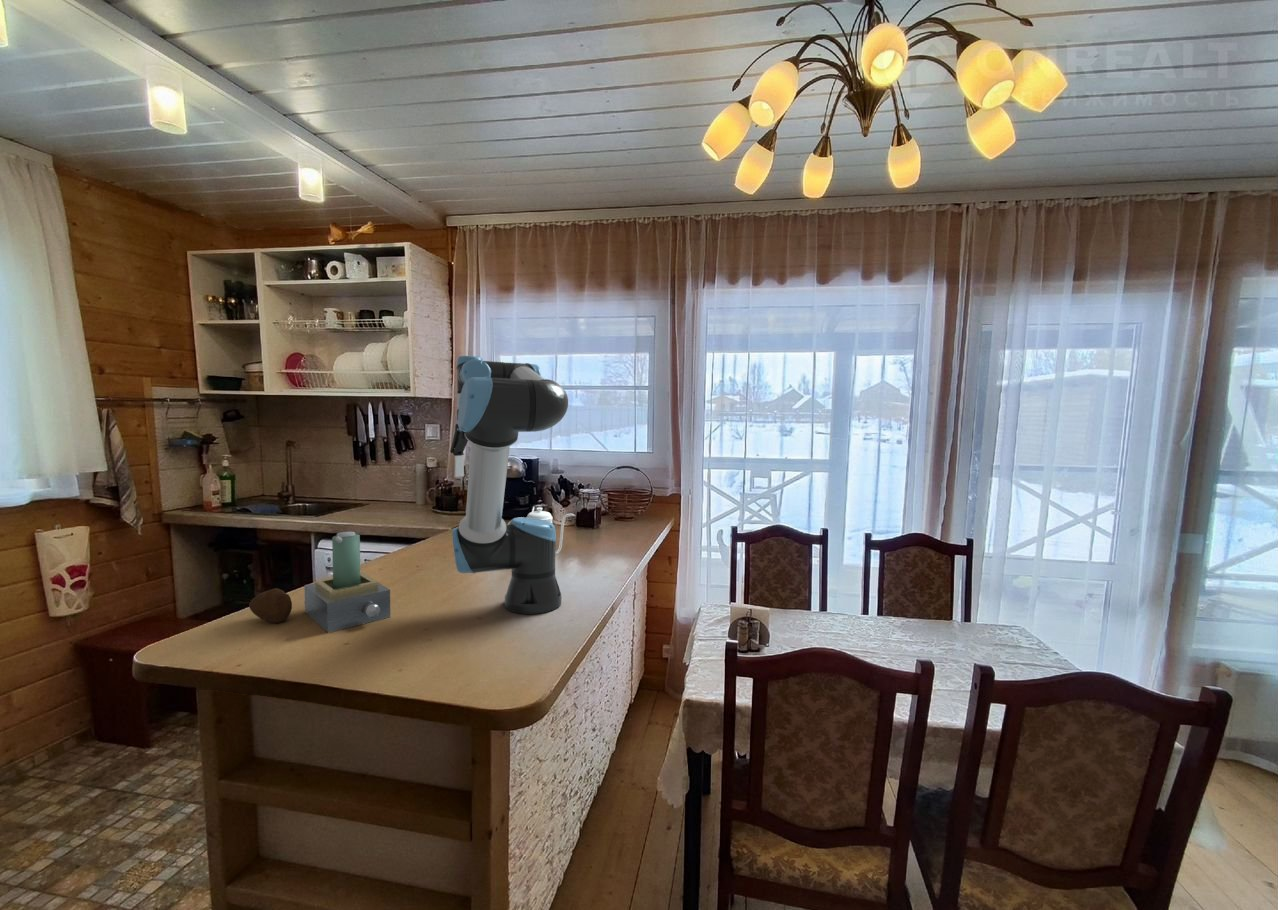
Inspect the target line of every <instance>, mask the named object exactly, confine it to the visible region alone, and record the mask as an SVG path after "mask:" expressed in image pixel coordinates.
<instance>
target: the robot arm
mask: <svg viewBox="0 0 1278 910" xmlns="http://www.w3.org/2000/svg"><path fill="white" fill-rule="evenodd" d="M456 363H457V364H456V384H457V386H456V387H457V389H456V390H457V393H456V406H457V407H458V409H457V411H456V420H457V423H456V424H454V425H455V426H454V427H455V428H454V434H453V439H452V442H451V446H450V452H449V453H451V454H453V456H454V477H455V478H459V477H465V468H464V467H465V458H464V457H465V456H464V455H465V453H464V451H465V449H466V446H467V444H468V443H470V449H469V451H470V452H469V465H468V477H467V479H468V481H467V493H466V494H467V495H466V505H465V506H466V507H465V516H464V517H463V518H461V520H459V524H458V527H455V528H452V529H451V536H452V537H451V538H452V544H453V552H454V553H453V555H454V561H455V567H456V571H458V573H460V574H476V573H484V572H485V573H487V572H495V571H504V570H511V577H510V581H509V584H508V587H507V590H506V594H505V596H504V608H505V609H507V611H509V612H511V613H516V614H521V615H523V614H524V615H535V614H543V613H547V612H552V611H554V610H556V609H558V608H559V607H561V605H562V593H561V589H560V586H559V583H558V580H557V577H556V554H555V552H556V551H557V550H556V548H557V547H556V546H557V545H556V542H557V538H556V536H557V535H556V534H557V533H556V526H555V525H554V524H553V522H552V523H551V522H549V521H545V520H541V519H535V518H526V517H524V518H518V517H514V518H512V519H511V520H512V521H511V522H510V524H509V525H508V524H507V523H506V522H505V519H503V517H502V516H503V509H504V501H505V499H504V498H505V492H506V491H505V489H506V482H507V475H508V465H509V457H510V456H509V455H510V447H511V446H513V445H514V444H515V443H516V442H517V441H518V439H519V432H521V433H525V432H526V433H527V432H530V433H531V432H534V433H536V432H541V431H545V430H548V429H550V428H552V427H553V426H556V425H557V424H558V423H559V422H561V420H563V418H564V416H566V413H567V411H568V408H569V397H568V394H567V392H566V390H565V389H564V388H563V387H562V386H561V384H559V383H558V382H556V381H555V380H552V379H550V378H549V379H547V378H544V377H542V373H541V369H540V366H539V365H537V364H533V363H529V362H528V363H527V362H526V363H523V362H522V363H521V362H519V363H518V362H503V361H490V360H489V361H488V360H483V358H482V357H480V356H474V355H460V356H458V357H457V361H456ZM558 606H559V607H558ZM557 607H558V608H557ZM551 610H552V611H551Z"/></svg>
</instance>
